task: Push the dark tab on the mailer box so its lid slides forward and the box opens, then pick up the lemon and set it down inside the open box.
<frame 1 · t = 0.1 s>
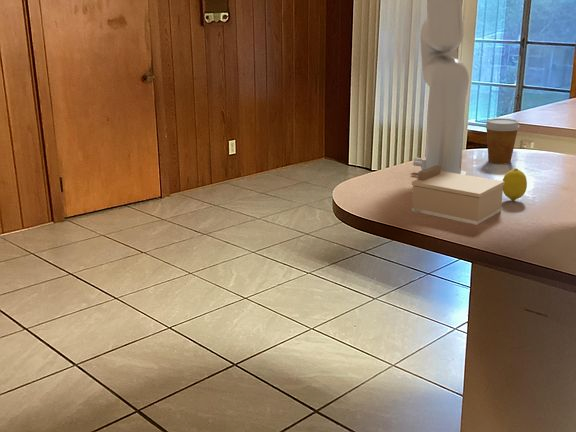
mailer box: (456, 211, 150), on the table
mailer lid: (458, 179, 148), point 8 cm above the table, slide at 0.0 cm
disposable coffee cup: (499, 162, 193), on the table
lemon: (512, 201, 156), on the table
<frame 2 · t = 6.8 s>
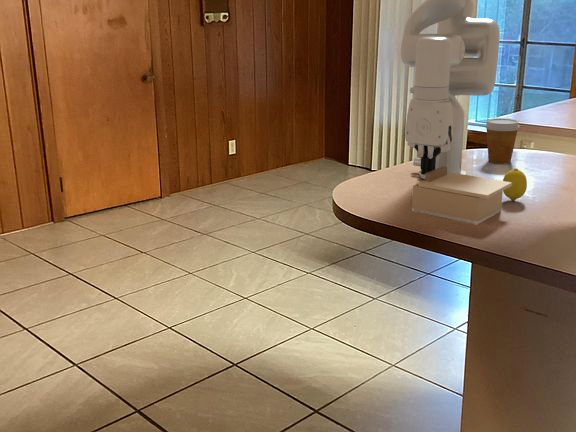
hand: (427, 173, 152), 8 cm above the table, tool pointing down, fingers closed
mailer lid: (465, 180, 147), point 8 cm above the table, slide at 1.7 cm, touching gripper
everything else where it was.
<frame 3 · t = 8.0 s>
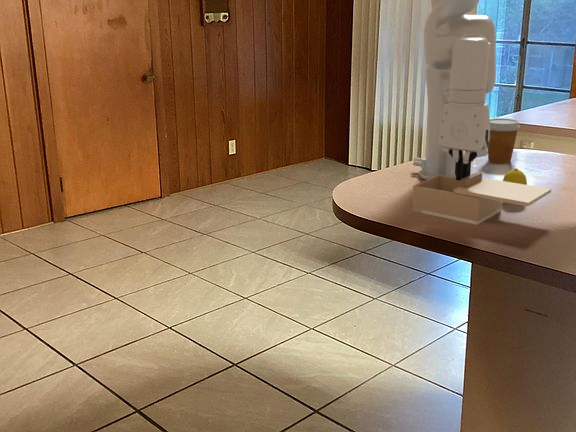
hand: (462, 179, 147), 8 cm above the table, tool pointing down, fingers closed
mailer lid: (502, 186, 141), point 8 cm above the table, slide at 10.4 cm, touching gripper
everything else where it was.
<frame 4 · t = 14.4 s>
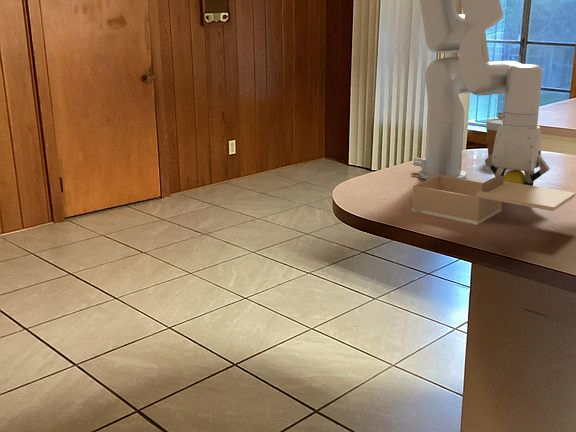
hand: (513, 194, 156), 2 cm above the table, tool pointing down, fingers closed on lemon, 5 cm apart
mailer lid: (525, 190, 138), point 8 cm above the table, slide at 15.4 cm
lemon: (512, 201, 156), on the table, touching gripper
everything else where it was.
when the fingers open (5 cm above the table, at t = 20.6 s): lemon drops 3 cm, resting on mailer box.
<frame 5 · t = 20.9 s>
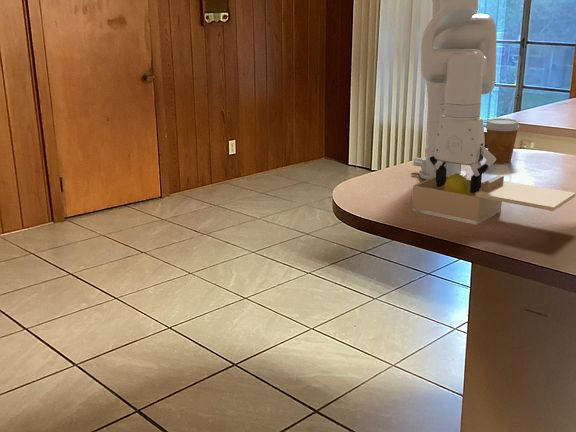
hand: (457, 188, 148), 5 cm above the table, tool pointing down, fingers open, 7 cm apart
lemon: (454, 208, 150), point 1 cm above the table, touching mailer box
everything else where it was.
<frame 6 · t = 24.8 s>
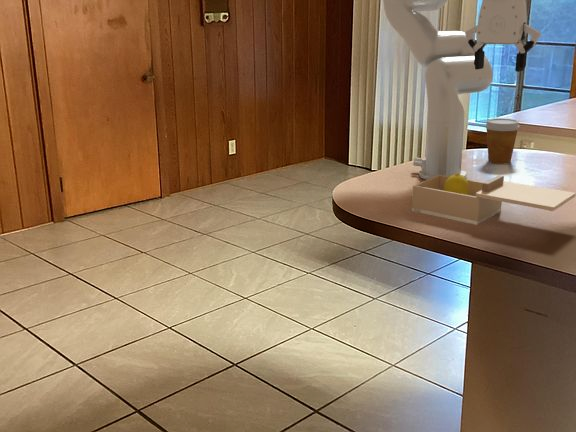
hand: (498, 70, 151), 30 cm above the table, tool pointing down, fingers open, 9 cm apart
nothing on the table moved.
at the end: mailer lid slide at 15.4 cm; lemon inside the target area on the mailer box (0.4 cm from its centre), point 0.6 cm above the mailer box's base; the gripper is holding nothing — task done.
